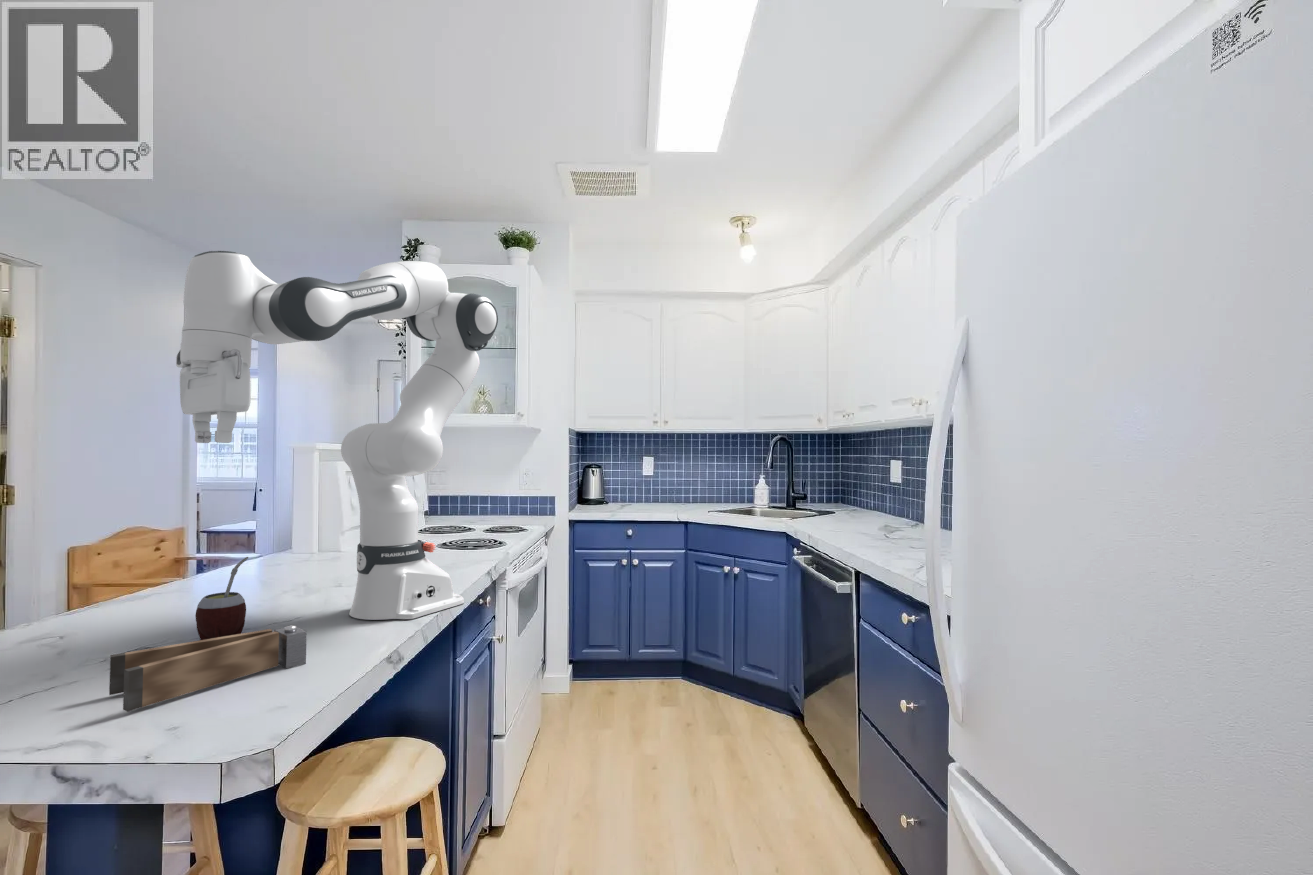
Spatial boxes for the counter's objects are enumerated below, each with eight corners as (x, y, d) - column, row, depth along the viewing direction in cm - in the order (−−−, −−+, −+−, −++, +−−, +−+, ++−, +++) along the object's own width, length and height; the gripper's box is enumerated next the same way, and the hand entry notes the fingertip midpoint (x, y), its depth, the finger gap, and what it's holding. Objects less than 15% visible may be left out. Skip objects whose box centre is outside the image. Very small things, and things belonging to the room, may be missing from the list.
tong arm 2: (273, 664, 92) (274, 631, 93) (278, 665, 92) (279, 632, 92) (122, 709, 76) (124, 669, 76) (127, 711, 76) (128, 671, 76)
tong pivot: (292, 657, 97) (293, 622, 97) (305, 663, 94) (306, 627, 94) (273, 661, 95) (274, 625, 95) (286, 668, 92) (286, 631, 92)
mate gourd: (201, 638, 106) (203, 552, 107) (254, 633, 110) (256, 550, 110) (188, 651, 100) (191, 559, 100) (245, 645, 103) (247, 556, 103)
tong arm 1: (269, 661, 94) (270, 628, 94) (271, 663, 93) (272, 630, 93) (109, 692, 81) (110, 654, 82) (109, 695, 81) (110, 657, 81)
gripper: (265, 350, 90) (261, 443, 90) (219, 362, 103) (215, 443, 102) (214, 344, 85) (210, 441, 85) (172, 357, 98) (168, 442, 97)
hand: (212, 443), depth 94 cm, fingers open, 8 cm apart
